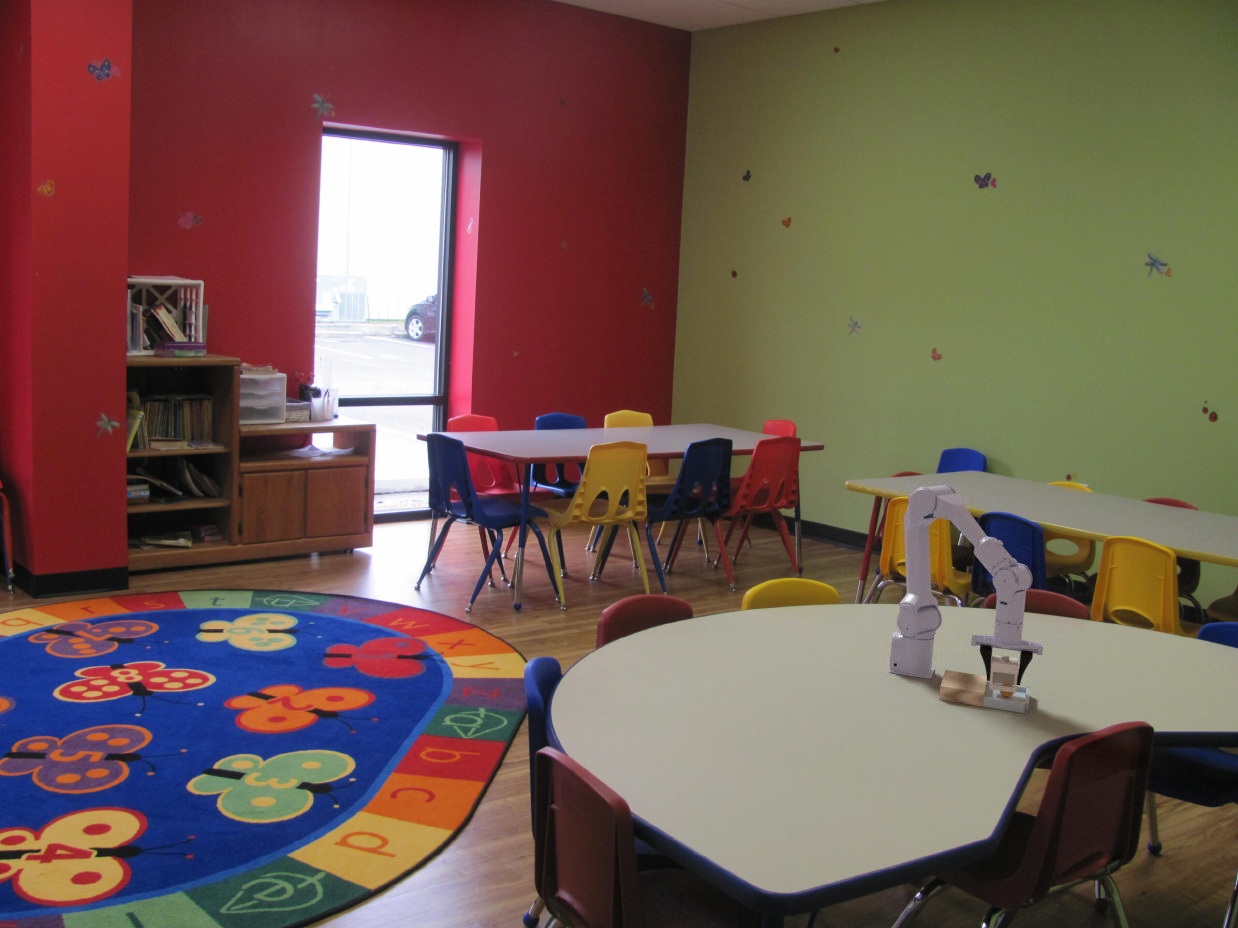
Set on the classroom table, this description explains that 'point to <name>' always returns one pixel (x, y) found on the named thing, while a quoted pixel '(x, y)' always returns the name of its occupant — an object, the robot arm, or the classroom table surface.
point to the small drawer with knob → (1004, 673)
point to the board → (963, 688)
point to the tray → (1007, 699)
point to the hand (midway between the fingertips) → (1003, 681)
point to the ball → (1004, 693)
